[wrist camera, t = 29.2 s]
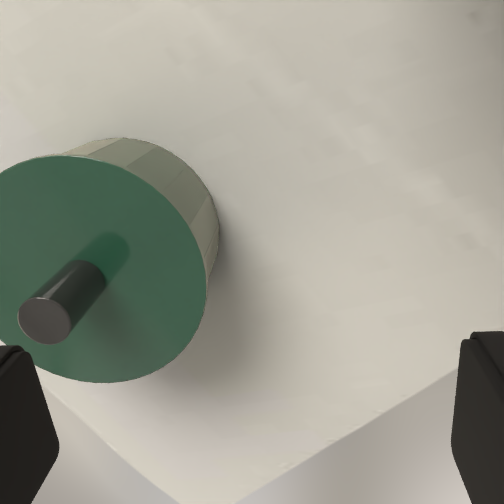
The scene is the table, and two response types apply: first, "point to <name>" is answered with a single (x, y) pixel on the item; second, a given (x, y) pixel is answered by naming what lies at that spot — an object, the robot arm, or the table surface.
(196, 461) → the table surface
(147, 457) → the table surface
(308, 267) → the table surface
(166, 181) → the pot
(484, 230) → the table surface
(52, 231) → the pot lid
